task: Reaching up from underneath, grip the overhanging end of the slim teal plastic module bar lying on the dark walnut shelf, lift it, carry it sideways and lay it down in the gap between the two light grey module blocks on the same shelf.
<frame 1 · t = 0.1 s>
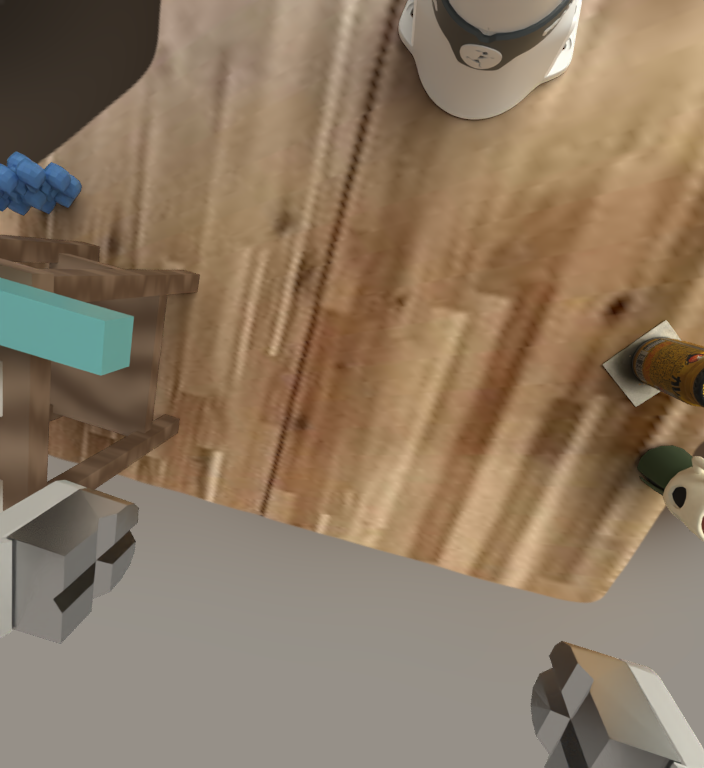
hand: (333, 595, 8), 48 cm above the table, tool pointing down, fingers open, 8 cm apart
condiment: (648, 364, 51), on the table
character mug: (660, 464, 54), on the table
grapes: (68, 190, 56), on the table
shelf: (133, 342, 60), on the table
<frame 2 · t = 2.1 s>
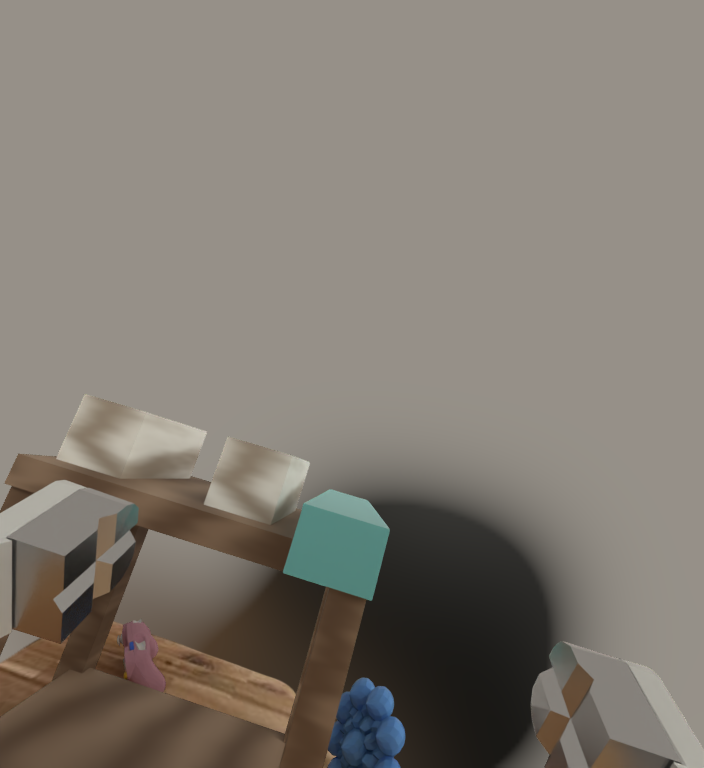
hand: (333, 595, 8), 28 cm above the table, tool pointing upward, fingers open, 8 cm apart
video game controller: (133, 678, 51), on the table
module bar: (336, 543, 29), point 26 cm above the table, touching shelf
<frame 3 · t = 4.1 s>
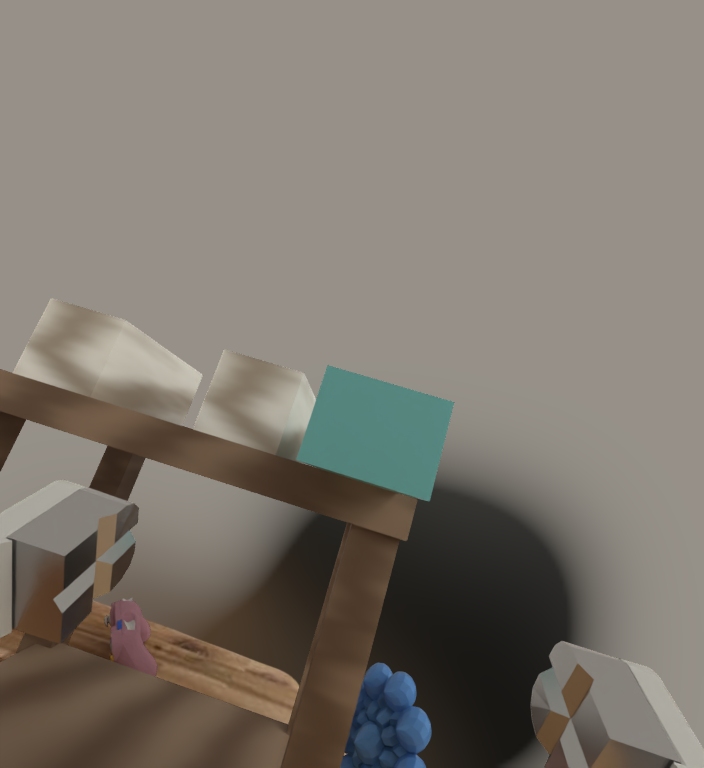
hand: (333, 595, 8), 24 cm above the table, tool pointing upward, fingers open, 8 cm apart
video game controller: (121, 662, 45), on the table
module bar: (357, 481, 23), point 26 cm above the table, touching shelf
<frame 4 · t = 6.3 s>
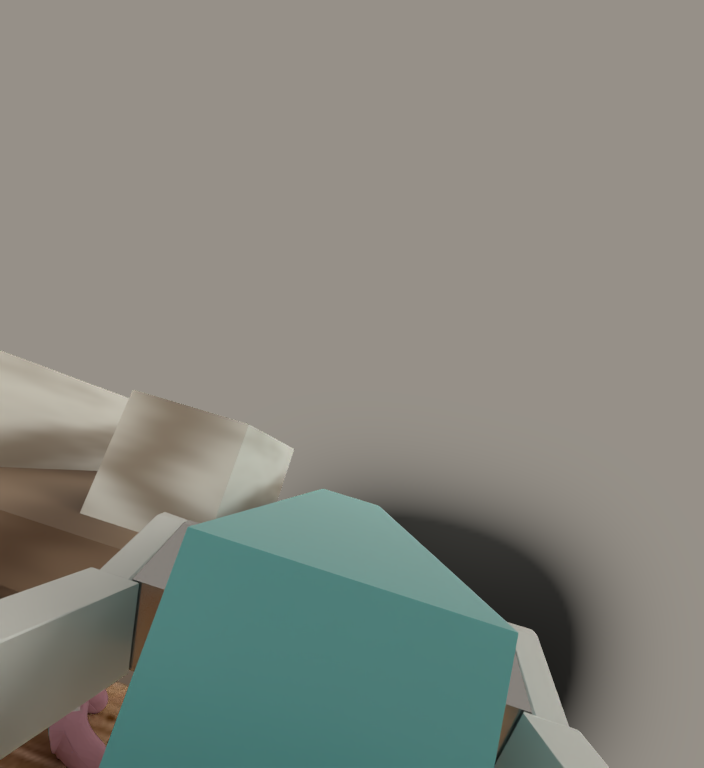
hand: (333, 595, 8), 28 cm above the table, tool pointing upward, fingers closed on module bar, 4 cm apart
video game controller: (67, 745, 38), on the table
module bar: (328, 586, 16), point 26 cm above the table, touching gripper, shelf
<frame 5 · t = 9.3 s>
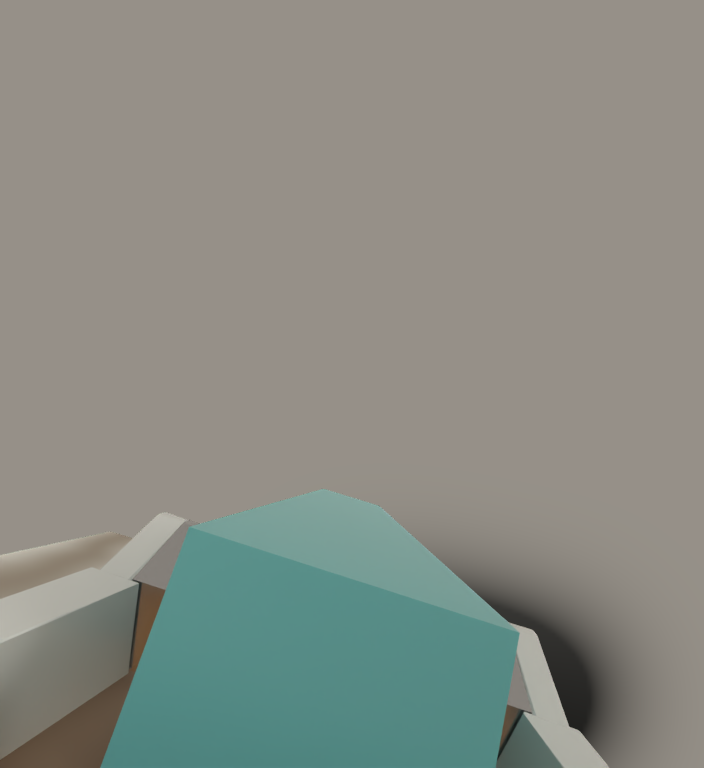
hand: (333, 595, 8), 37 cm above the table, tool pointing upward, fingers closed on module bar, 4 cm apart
module bar: (328, 586, 16), point 35 cm above the table, touching gripper
when the fingers open (29 cm above the table, at t = 12.6 s): module bar drops 1 cm, resting on shelf.
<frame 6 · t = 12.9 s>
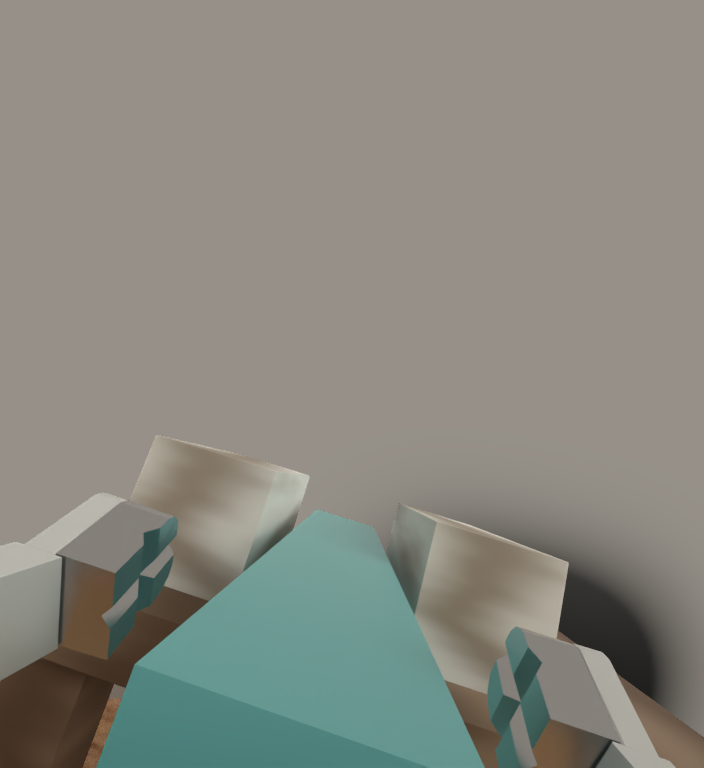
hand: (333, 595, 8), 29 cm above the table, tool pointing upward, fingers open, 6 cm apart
module bar: (317, 627, 15), point 26 cm above the table, touching shelf
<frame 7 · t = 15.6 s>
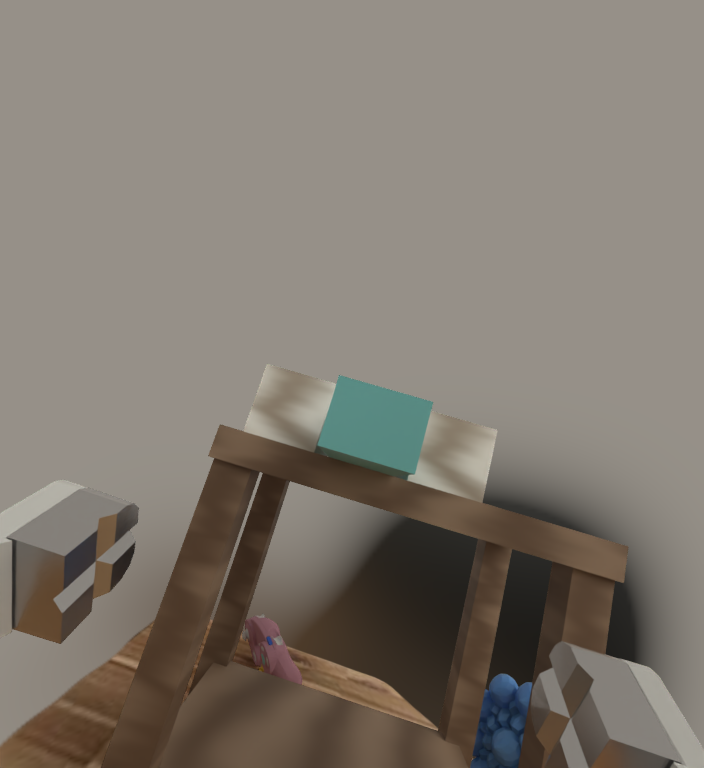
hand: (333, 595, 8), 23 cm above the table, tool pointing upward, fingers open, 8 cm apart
video game controller: (263, 674, 50), on the table
module bar: (359, 468, 28), point 26 cm above the table, touching shelf
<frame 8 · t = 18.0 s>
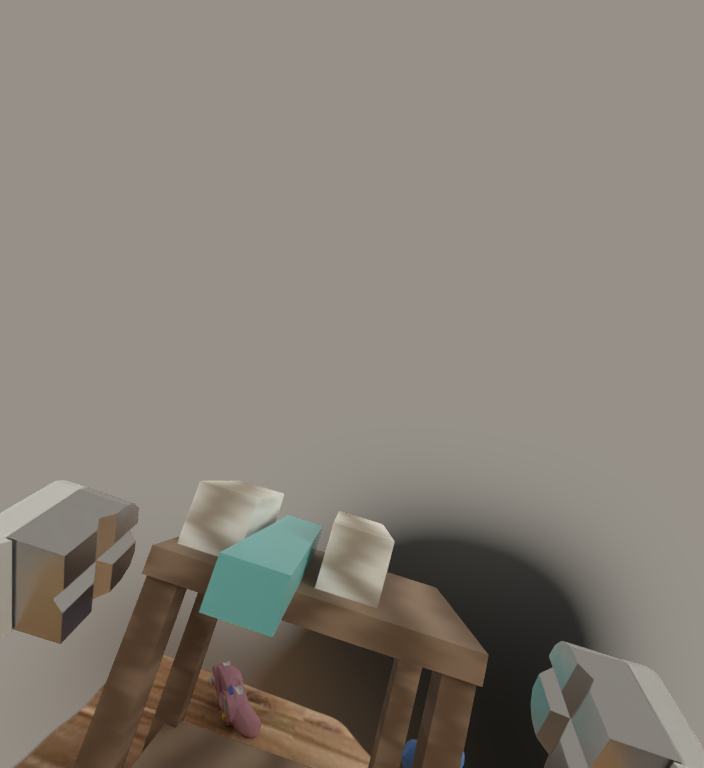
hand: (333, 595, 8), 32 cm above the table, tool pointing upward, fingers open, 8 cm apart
video game controller: (227, 718, 55), on the table
module bar: (277, 572, 32), point 26 cm above the table, touching shelf
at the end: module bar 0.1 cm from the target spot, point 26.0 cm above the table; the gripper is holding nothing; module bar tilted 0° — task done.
